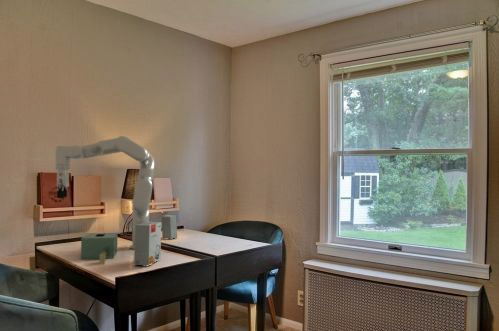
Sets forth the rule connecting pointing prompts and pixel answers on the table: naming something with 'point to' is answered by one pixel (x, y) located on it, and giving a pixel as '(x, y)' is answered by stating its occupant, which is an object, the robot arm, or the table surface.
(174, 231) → the skincare box
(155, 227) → the hard drive box
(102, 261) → the token
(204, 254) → the table surface
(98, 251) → the coin box
